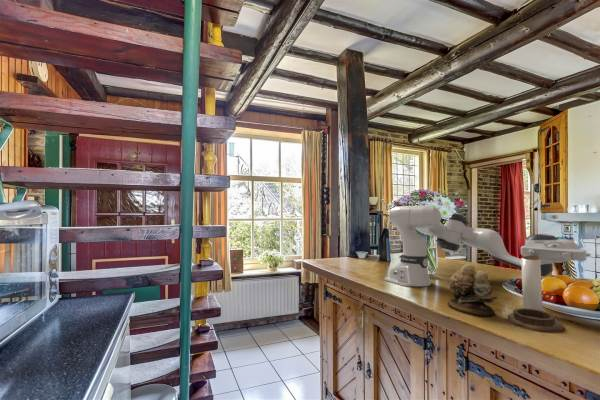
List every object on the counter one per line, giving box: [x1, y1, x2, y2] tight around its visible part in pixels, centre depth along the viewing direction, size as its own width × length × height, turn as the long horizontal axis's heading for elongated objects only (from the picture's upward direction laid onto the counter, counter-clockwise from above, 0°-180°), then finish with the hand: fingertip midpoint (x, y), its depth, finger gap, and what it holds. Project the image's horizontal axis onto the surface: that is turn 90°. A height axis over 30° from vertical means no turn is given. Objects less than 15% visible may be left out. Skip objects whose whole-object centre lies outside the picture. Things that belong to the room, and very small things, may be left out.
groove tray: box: [507, 307, 563, 333], centre depth 98 cm, size 14×14×3 cm
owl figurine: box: [447, 263, 498, 318], centre depth 111 cm, size 18×12×17 cm, turn 25°
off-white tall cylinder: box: [520, 255, 543, 311], centre depth 108 cm, size 6×6×20 cm
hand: (545, 254), depth 116 cm, fingers open, 8 cm apart
